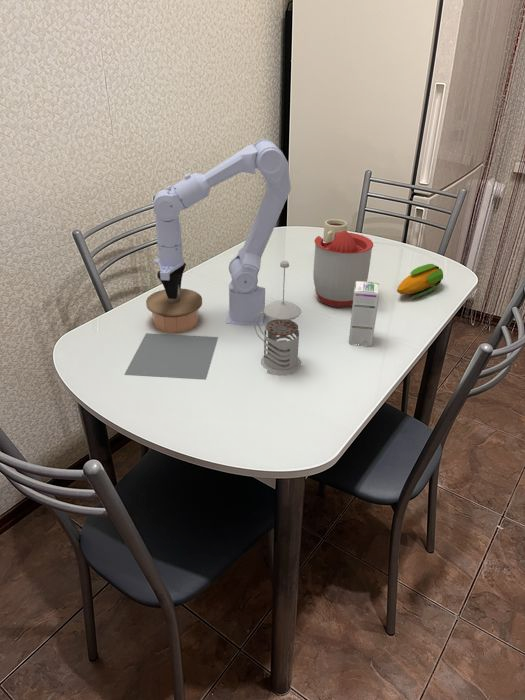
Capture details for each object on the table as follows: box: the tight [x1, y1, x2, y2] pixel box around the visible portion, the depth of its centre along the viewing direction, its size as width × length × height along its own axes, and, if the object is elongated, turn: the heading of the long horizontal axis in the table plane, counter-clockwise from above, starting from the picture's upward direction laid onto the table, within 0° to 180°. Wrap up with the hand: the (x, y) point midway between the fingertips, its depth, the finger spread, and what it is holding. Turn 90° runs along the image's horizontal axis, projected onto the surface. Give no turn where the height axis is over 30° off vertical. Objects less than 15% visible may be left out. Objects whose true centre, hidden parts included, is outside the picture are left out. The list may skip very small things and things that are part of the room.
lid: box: [145, 284, 203, 316], centre depth 130 cm, size 14×14×5 cm
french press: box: [253, 259, 302, 376], centre depth 113 cm, size 10×12×25 cm
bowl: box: [151, 309, 199, 333], centre depth 133 cm, size 11×11×4 cm
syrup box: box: [348, 281, 380, 347], centre depth 124 cm, size 6×6×14 cm
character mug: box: [322, 218, 348, 243], centre depth 167 cm, size 11×7×13 cm, turn 148°
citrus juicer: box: [312, 230, 374, 308], centre depth 143 cm, size 16×17×20 cm
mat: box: [124, 332, 219, 381], centre depth 120 cm, size 18×18×1 cm
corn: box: [396, 263, 444, 299], centre depth 150 cm, size 7×8×20 cm
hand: (174, 294), depth 130 cm, fingers closed on lid, 3 cm apart
